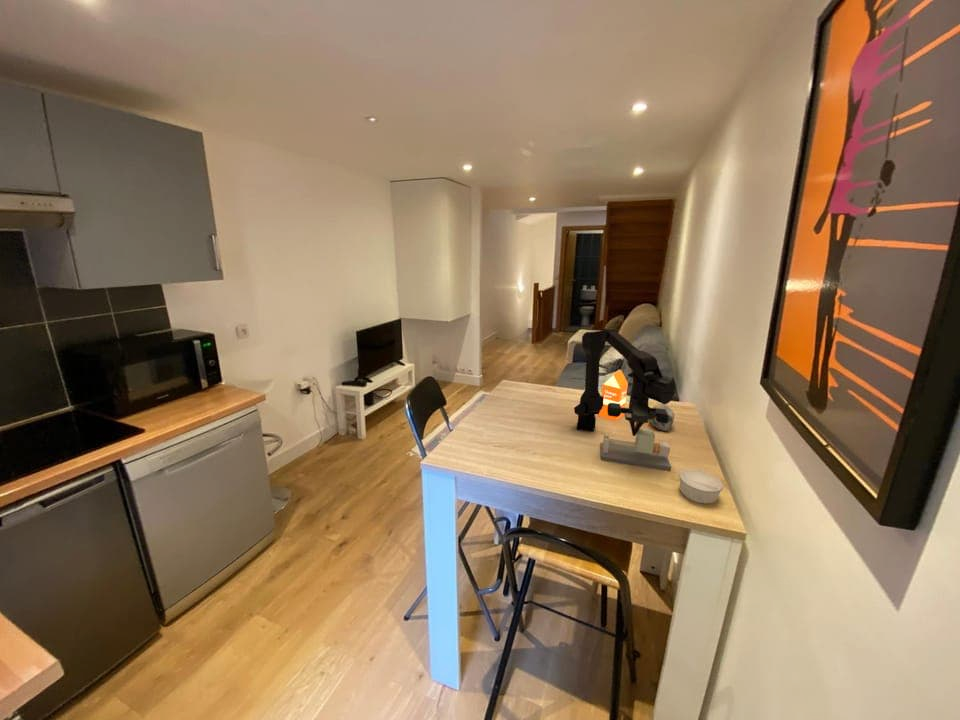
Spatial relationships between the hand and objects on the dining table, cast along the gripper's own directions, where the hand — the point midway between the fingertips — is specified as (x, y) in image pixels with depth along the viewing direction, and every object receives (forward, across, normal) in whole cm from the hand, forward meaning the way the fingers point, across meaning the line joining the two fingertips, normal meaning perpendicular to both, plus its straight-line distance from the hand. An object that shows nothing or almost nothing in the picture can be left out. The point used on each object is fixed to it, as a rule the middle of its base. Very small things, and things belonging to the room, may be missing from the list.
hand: (633, 435), depth 129 cm
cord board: (+9, +1, 0) cm, 9 cm away
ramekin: (+9, +18, -16) cm, 25 cm away
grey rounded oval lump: (+9, +14, +31) cm, 35 cm away
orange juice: (+9, -5, +35) cm, 36 cm away
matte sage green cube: (+5, +4, 0) cm, 6 cm away
